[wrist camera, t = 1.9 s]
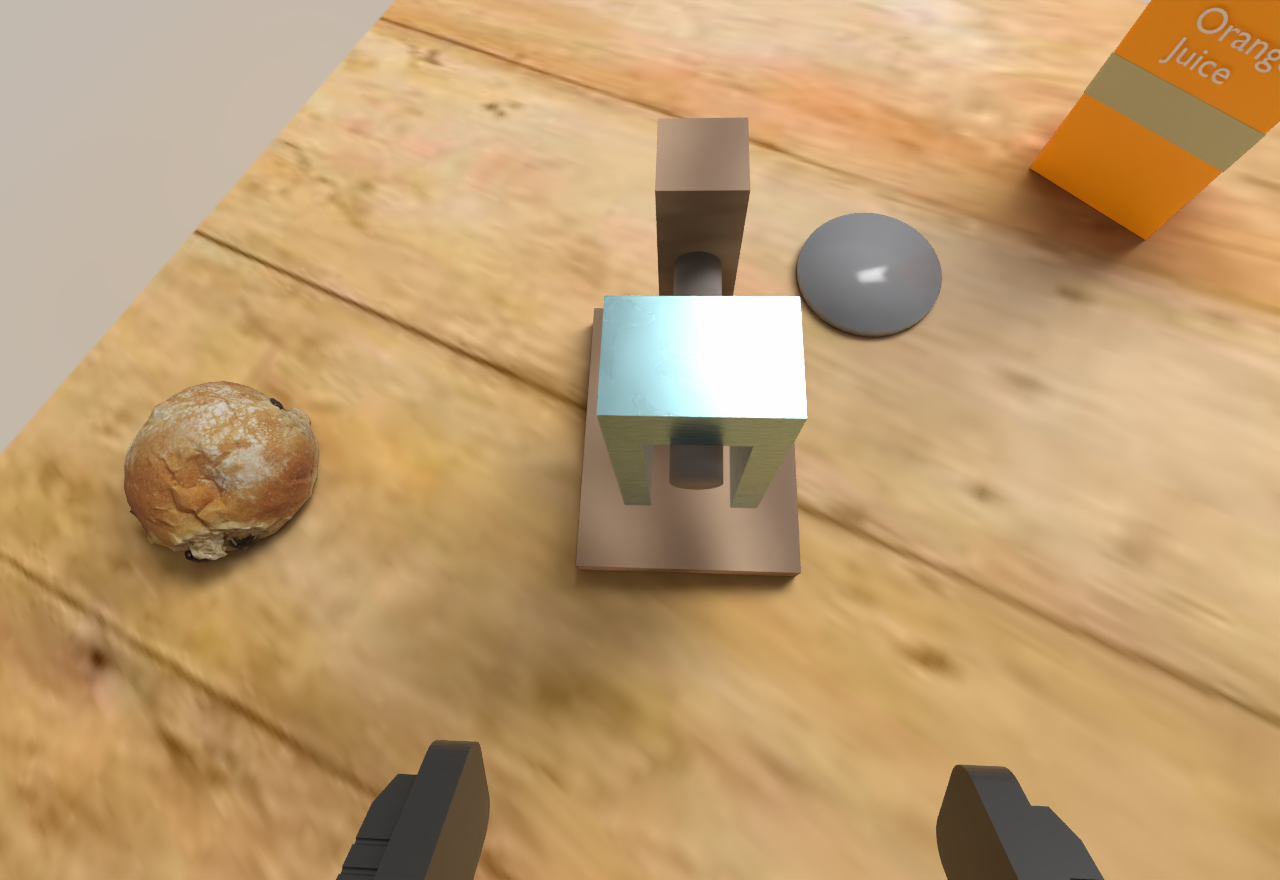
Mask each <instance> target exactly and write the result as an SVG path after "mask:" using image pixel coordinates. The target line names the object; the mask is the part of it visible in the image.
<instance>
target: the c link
mask: <svg viewBox="0 0 1280 880" xmlns="http://www.w3.org/2000/svg"><path fill="white" fill-rule="evenodd" d="M597 418H598V422H599V425H600V428H601V431H602V434H603V438H604V441H605V444H606V447H607V450H608V453H609V457H610V460H611V463H612V466H613V469H614V473H615V476H616V479H617V482H618V485H619V489H620V492H621V495H622V498H623V501H624V505H641V506H651V486H652V455H653V445H700V446H729V449H730V508H757V507H758V506H759V504H760V502H761V500H762V498H763V497H764V495H765V493H766V491H767V489H768V488H769V486H770V484H771V482H772V480H773V479H774V477H775V475H776V473H777V472H778V470H779V468H780V466H781V464H782V463H783V461H784V459H785V457H786V455H787V454H788V452H789V450H790V448H791V446H792V445H793V443H794V441H795V439H796V437H797V436H798V434H799V432H800V430H801V429H802V427H803V425H804V423H805V421H806V420H807V408H806V391H805V373H804V356H803V339H802V322H801V304H800V297H793V296H604V309H603V324H602V339H601V354H600V369H599V385H598V400H597Z"/></svg>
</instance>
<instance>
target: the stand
mask: <svg viewBox="0 0 1280 880" xmlns="http://www.w3.org/2000/svg"><path fill="white" fill-rule="evenodd" d="M749 194H750V167H749V132H748V118H685V119H658V132H657V159H656V187H655V195H656V221H657V248H658V275H659V296H733V291H734V285H735V279H736V273H737V267H738V261H739V255H740V249H741V243H742V237H743V231H744V225H745V218H746V212H747V206H748V200H749ZM603 309H604V308H594V319H593V333H592V347H591V361H590V375H589V389H588V402H587V416H586V430H585V444H584V458H583V472H582V486H581V500H580V514H579V528H578V541H577V555H576V566H577V567H578V568H579V569H580V570H610V571H642V572H674V573H706V574H738V575H770V576H797V575H798V574H800V573H801V566H800V546H799V526H798V506H797V486H796V466H795V446H794V443H793V445H792V446H791V448H790V450H789V452H788V454H787V455H786V457H785V459H784V461H783V463H782V464H781V466H780V468H779V470H778V472H777V473H776V475H775V477H774V479H773V480H772V482H771V484H770V486H769V488H768V489H767V491H766V493H765V495H764V497H763V498H762V500H761V502H760V504H759V506H758V507H757V508H730V449H729V446H700V445H653V455H652V486H651V506H641V505H624V501H623V498H622V495H621V492H620V489H619V485H618V482H617V479H616V476H615V473H614V469H613V466H612V463H611V460H610V457H609V453H608V450H607V447H606V444H605V441H604V438H603V434H602V431H601V428H600V425H599V422H598V418H597V400H598V385H599V369H600V354H601V339H602V324H603Z"/></svg>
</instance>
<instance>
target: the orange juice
mask: <svg viewBox="0 0 1280 880" xmlns="http://www.w3.org/2000/svg"><path fill="white" fill-rule="evenodd" d="M1279 121H1280V0H1151V2H1150V3H1149V4H1148V6H1147V7H1146V9H1145V10H1144V11H1143V13H1142V14H1141V15H1140V17H1139V18H1138V20H1137V21H1136V22H1135V24H1134V25H1133V26H1132V28H1131V29H1130V31H1129V32H1128V33H1127V35H1126V36H1125V37H1124V39H1123V40H1122V42H1121V43H1120V44H1119V46H1118V47H1117V48H1116V50H1115V51H1114V52H1113V53H1112V54H1111V55H1110V57H1109V58H1108V59H1107V61H1106V62H1105V64H1104V65H1103V66H1102V68H1101V69H1100V70H1099V72H1098V73H1097V75H1096V76H1095V77H1094V79H1093V80H1092V81H1091V83H1090V84H1089V86H1088V87H1087V88H1086V90H1085V91H1084V94H1083V95H1082V97H1081V98H1080V99H1079V101H1078V102H1077V103H1076V105H1075V106H1074V108H1073V109H1072V110H1071V112H1070V113H1069V114H1068V116H1067V117H1066V119H1065V120H1064V121H1063V123H1062V124H1061V125H1060V127H1059V128H1058V130H1057V131H1056V132H1055V134H1054V135H1053V136H1052V138H1051V139H1050V141H1049V142H1048V143H1047V145H1046V146H1045V147H1044V149H1043V150H1042V152H1041V153H1040V154H1039V156H1038V157H1037V158H1036V160H1035V161H1034V163H1033V164H1032V165H1031V167H1030V169H1032V170H1034V171H1035V172H1037V173H1038V174H1040V175H1042V176H1043V177H1045V178H1046V179H1048V180H1050V181H1051V182H1053V183H1054V184H1056V185H1058V186H1059V187H1061V188H1062V189H1064V190H1066V191H1067V192H1069V193H1070V194H1072V195H1074V196H1075V197H1077V198H1078V199H1080V200H1082V201H1083V202H1085V203H1086V204H1088V205H1090V206H1091V207H1093V208H1094V209H1096V210H1098V211H1099V212H1101V213H1102V214H1104V215H1106V216H1107V217H1109V218H1111V219H1112V220H1114V221H1115V222H1117V223H1119V224H1120V225H1122V226H1123V227H1125V228H1127V229H1128V230H1130V231H1131V232H1133V233H1135V234H1136V235H1138V236H1139V237H1141V238H1143V239H1144V240H1146V239H1147V238H1148V237H1150V236H1151V235H1152V234H1153V233H1154V232H1155V231H1156V230H1157V229H1159V228H1160V227H1161V226H1162V225H1163V224H1164V223H1165V222H1166V221H1168V220H1169V219H1170V218H1171V217H1172V216H1173V215H1174V214H1176V213H1177V212H1178V211H1179V210H1180V209H1181V208H1182V207H1183V206H1185V205H1186V204H1187V203H1188V202H1189V201H1190V200H1191V199H1192V198H1194V197H1195V196H1196V195H1197V194H1198V193H1199V192H1200V191H1201V190H1203V189H1204V188H1205V187H1206V186H1207V185H1208V184H1209V183H1211V182H1212V181H1213V180H1214V179H1215V178H1216V177H1217V176H1218V175H1220V174H1221V173H1222V172H1224V171H1225V170H1227V169H1228V168H1229V167H1230V166H1231V165H1232V164H1233V163H1234V162H1236V161H1237V160H1238V159H1239V158H1240V157H1241V156H1242V155H1243V154H1245V153H1246V152H1247V151H1248V150H1249V149H1250V148H1251V147H1253V146H1254V145H1255V144H1256V143H1257V142H1258V141H1259V140H1260V139H1262V138H1263V137H1264V136H1265V135H1266V134H1267V133H1268V132H1269V131H1270V129H1272V128H1273V127H1274V126H1275V125H1276V124H1277V123H1278V122H1279Z"/></svg>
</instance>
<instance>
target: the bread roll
mask: <svg viewBox="0 0 1280 880" xmlns="http://www.w3.org/2000/svg"><path fill="white" fill-rule="evenodd" d="M310 423H311V421H310V419H309V418H308V417H307V415H306V414H305V413H304V412H303V411H302V410H300V409H298V408H296V407H293V408H292V409H291V410H290V411H289V410H287V409H286V408H284V407H283V406H282V404H281V403H280V402H278V401H276V400H275V399H273V398H270V399H269V398H267V396H265V395H263V393H261V392H259V391H257V390H255V389H252V388H250V387H248V386H244V385H241V384H236V383H231V382H225V381H221V382H209V383H204V384H200V385H196V386H192V387H189V388H187V389H185V390H183V391H181V392H179V393H177V394H176V395H174V396H172V397H171V398H169V399H168V400H166V401H165V402H163V403H161V404H159V405H157V406H156V407H155V409H154V410H153V412H152V413H151V415H150V417H149V419H148V421H147V422H146V423H145V424H144V426H143V427H142V428H141V430H140V431H139V432H138V434H137V435H136V437H135V438H134V440H133V441H132V442H131V444H130V446H129V449H128V451H127V454H126V460H125V466H124V469H125V482H124V489H125V493H126V497H127V502H128V504H129V506H130V507H131V511H130V512H131V513H132V514H134V515H135V516H136V517H137V518H138V519H139V521H140V522H141V523H142V525H143V527H144V529H145V530H146V532H147V539H148V542H149V543H150V544H153V545H162V546H166V547H168V548H169V549H171V550H173V551H175V552H178V551H180V552H181V551H182V552H185V556H186V559H188V560H191V561H194V562H197V563H201V562H208V561H210V560H217V559H218V558H220V557H225V556H226V555H227V553H225V551H236V550H246V549H248V548H249V547H250V546H251V545H253V544H254V543H255V542H257V541H258V540H260V539H262V538H265V537H268V536H270V535H272V534H275V533H276V532H277V531H278V530H279V529H280V528H281V527H282V526H283V525H284V524H285V523H286V522H287V521H288V520H291V519H292V517H293V515H294V514H295V513H296V512H297V511H298V510H299V509H300V508H301V507H302V506H303V504H304V503H305V502H306V501H307V499H308V498H309V497H310V496H311V494H312V488H313V486H314V483H315V480H316V478H317V476H318V475H317V463H318V453H319V452H318V442H317V440H316V438H315V436H314V434H313V432H312V430H311V427H310V425H309V424H310ZM203 525H204V526H203ZM231 545H232V546H231Z"/></svg>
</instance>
